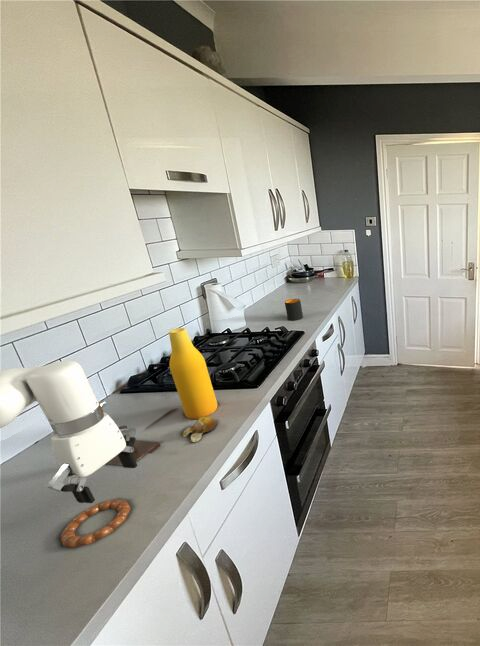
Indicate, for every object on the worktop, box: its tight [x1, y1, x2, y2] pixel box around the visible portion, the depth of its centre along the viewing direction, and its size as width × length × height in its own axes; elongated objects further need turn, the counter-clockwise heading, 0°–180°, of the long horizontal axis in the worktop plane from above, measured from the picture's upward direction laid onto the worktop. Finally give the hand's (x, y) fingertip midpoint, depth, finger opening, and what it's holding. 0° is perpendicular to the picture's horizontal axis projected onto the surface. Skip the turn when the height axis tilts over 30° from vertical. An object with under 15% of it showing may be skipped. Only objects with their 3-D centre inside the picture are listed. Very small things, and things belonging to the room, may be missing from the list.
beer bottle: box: [168, 327, 218, 420], centre depth 109 cm, size 9×9×29 cm
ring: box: [60, 499, 131, 548], centre depth 75 cm, size 11×11×2 cm
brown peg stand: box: [105, 425, 161, 467], centre depth 94 cm, size 9×9×9 cm
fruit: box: [182, 416, 217, 443], centre depth 104 cm, size 8×8×4 cm
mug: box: [284, 298, 304, 322], centre depth 198 cm, size 8×12×10 cm
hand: (110, 483), depth 77 cm, fingers open, 9 cm apart
